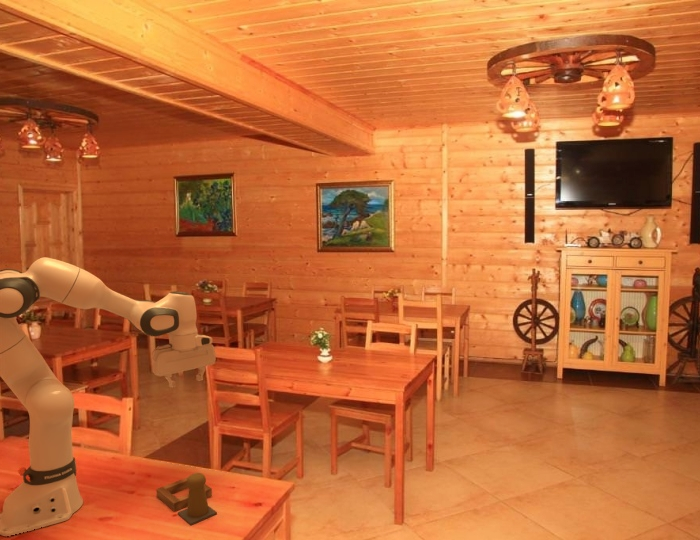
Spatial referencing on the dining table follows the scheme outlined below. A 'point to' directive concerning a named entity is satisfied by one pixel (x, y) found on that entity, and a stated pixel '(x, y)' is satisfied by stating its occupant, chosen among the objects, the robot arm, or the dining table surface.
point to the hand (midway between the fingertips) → (186, 383)
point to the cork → (197, 496)
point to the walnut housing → (167, 492)
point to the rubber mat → (195, 520)
